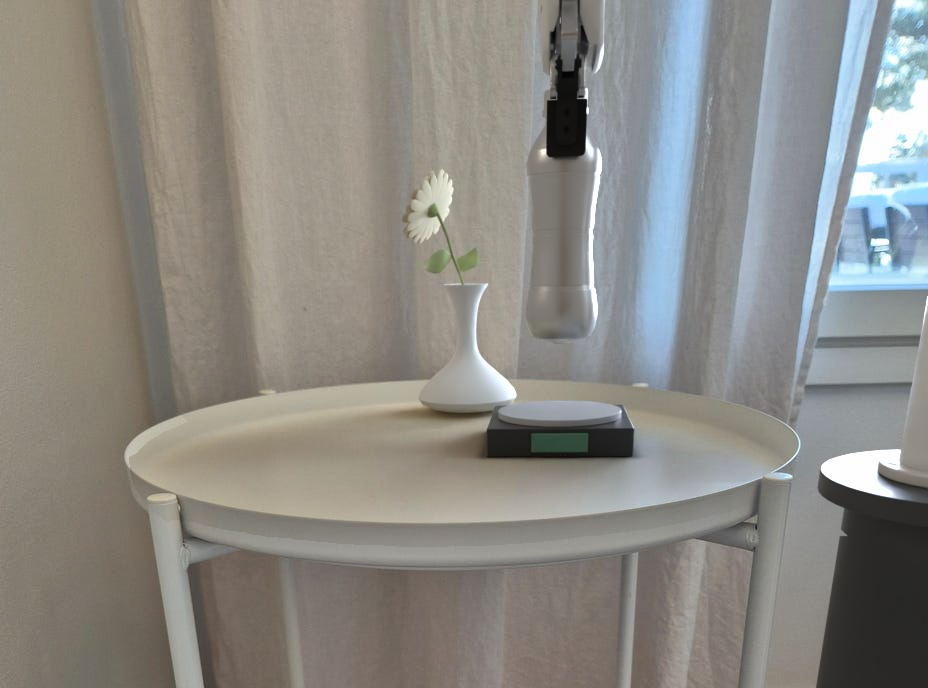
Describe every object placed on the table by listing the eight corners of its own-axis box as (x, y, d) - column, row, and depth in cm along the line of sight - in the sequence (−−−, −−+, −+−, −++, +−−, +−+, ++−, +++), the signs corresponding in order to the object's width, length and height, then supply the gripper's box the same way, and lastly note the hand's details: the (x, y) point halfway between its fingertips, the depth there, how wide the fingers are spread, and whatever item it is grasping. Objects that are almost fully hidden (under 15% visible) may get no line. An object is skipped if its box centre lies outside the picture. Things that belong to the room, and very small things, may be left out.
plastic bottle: (556, 348, 78) (562, 81, 70) (510, 343, 83) (510, 94, 75) (611, 342, 81) (623, 86, 73) (563, 338, 86) (569, 98, 78)
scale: (622, 429, 91) (623, 398, 90) (633, 457, 78) (635, 422, 77) (495, 430, 92) (495, 399, 91) (486, 458, 80) (486, 423, 79)
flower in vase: (476, 400, 111) (472, 175, 101) (536, 410, 102) (540, 166, 92) (388, 413, 104) (375, 172, 94) (445, 425, 95) (438, 162, 85)
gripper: (629, -152, 60) (616, 148, 68) (613, -69, 76) (603, 167, 83) (519, -143, 61) (517, 152, 68) (525, -63, 77) (523, 170, 84)
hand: (565, 158), depth 76 cm, fingers closed on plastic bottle, 6 cm apart
